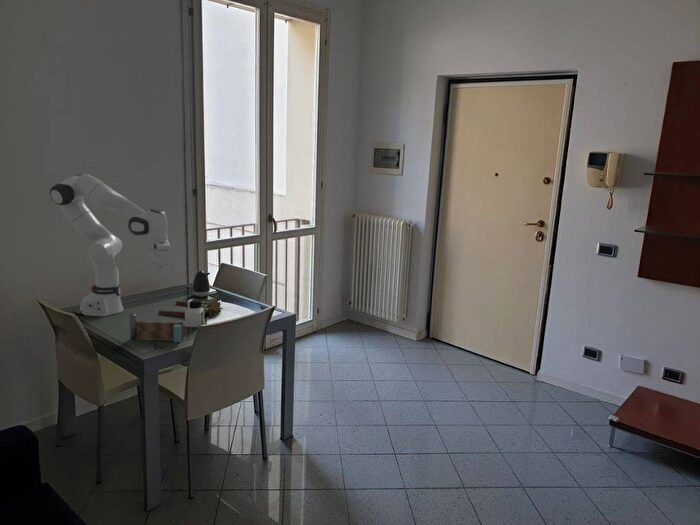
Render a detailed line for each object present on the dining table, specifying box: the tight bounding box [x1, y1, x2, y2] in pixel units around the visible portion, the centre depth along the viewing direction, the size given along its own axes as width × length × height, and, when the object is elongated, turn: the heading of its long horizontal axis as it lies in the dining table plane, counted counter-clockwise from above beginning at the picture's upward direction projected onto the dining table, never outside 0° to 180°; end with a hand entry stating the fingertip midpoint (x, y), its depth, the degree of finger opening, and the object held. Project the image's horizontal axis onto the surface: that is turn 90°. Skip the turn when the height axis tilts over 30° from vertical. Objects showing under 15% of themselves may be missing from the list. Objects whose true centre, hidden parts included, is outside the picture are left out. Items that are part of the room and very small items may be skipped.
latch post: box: [173, 324, 183, 343], centre depth 238 cm, size 3×3×8 cm
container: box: [184, 298, 205, 328], centre depth 260 cm, size 8×8×13 cm
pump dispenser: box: [191, 270, 211, 298], centre depth 307 cm, size 10×10×15 cm
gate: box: [137, 320, 184, 340], centre depth 239 cm, size 20×2×8 cm, turn 97°
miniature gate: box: [158, 297, 224, 320], centre depth 279 cm, size 27×6×30 cm
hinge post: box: [128, 313, 138, 341], centre depth 237 cm, size 3×3×12 cm
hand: (159, 270), depth 254 cm, fingers closed
